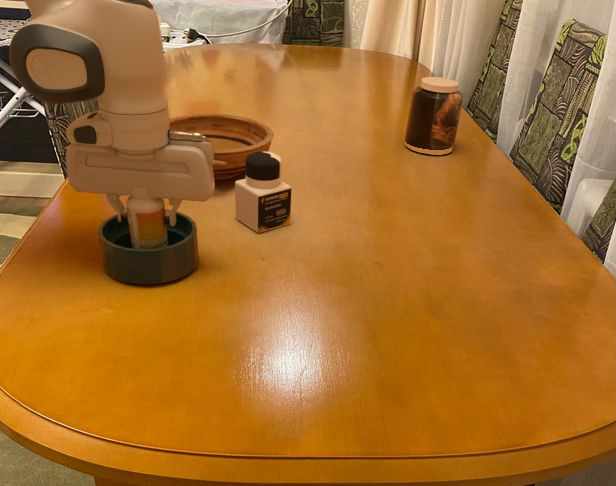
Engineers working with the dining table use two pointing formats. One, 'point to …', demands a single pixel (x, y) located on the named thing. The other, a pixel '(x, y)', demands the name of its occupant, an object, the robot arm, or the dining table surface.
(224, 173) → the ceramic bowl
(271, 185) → the medicine bottle
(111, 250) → the teal bowl
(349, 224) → the dining table surface
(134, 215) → the supplement bottle
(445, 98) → the jar
